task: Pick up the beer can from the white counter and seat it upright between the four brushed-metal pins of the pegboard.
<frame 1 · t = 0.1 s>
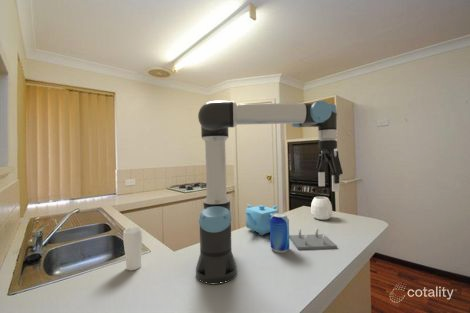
hand: (328, 188, 96), 28 cm above the counter, fingers open, 13 cm apart
teakettle: (261, 231, 123), on the counter
beer can: (279, 249, 99), on the counter
cup: (321, 218, 143), on the counter
white cylinder: (133, 268, 86), on the counter
pegboard: (311, 242, 106), on the counter
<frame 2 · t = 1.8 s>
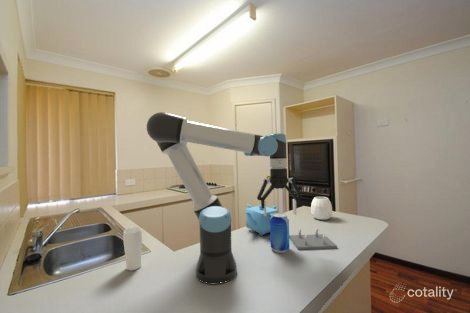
hand: (279, 214, 99), 16 cm above the counter, fingers open, 13 cm apart
nothing on the counter moved.
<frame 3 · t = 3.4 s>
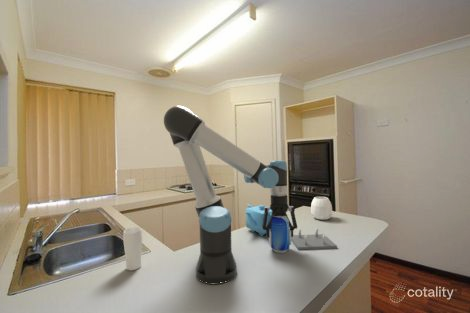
hand: (279, 244, 99), 3 cm above the counter, fingers closed on beer can, 8 cm apart
beer can: (280, 250, 99), on the counter, touching gripper
everything else where it was.
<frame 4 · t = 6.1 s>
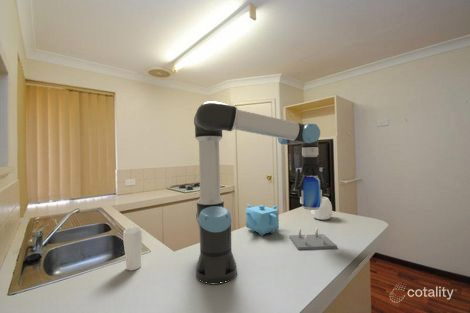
hand: (311, 203, 105), 19 cm above the counter, fingers closed on beer can, 8 cm apart
beer can: (311, 208, 105), point 17 cm above the counter, touching gripper
everything else where it was.
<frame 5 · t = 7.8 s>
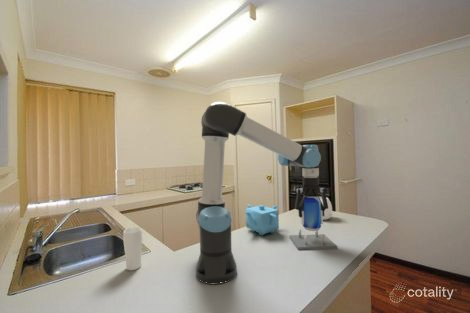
hand: (311, 223, 106), 9 cm above the counter, fingers closed on beer can, 8 cm apart
beer can: (311, 228, 106), point 7 cm above the counter, touching gripper
everything else where it was.
when the fingers open (6 cm above the counter, at t = 9.0 s): beer can drops 2 cm, resting on pegboard.
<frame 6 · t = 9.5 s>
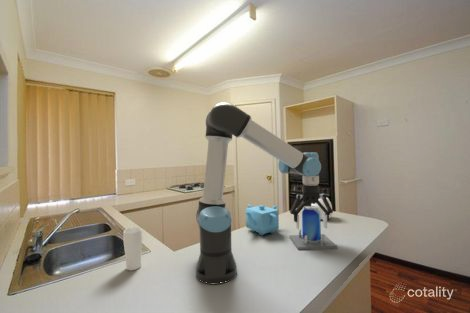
hand: (311, 227, 106), 7 cm above the counter, fingers open, 13 cm apart
beer can: (311, 240, 106), point 1 cm above the counter, touching pegboard
everything else where it was.
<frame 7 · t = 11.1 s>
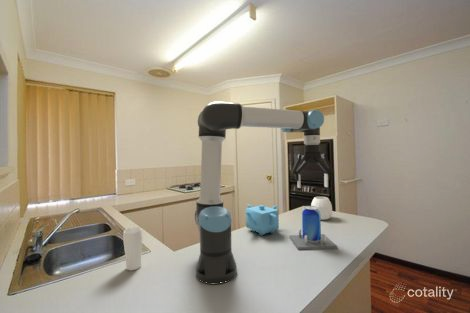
hand: (312, 187, 108), 27 cm above the counter, fingers open, 13 cm apart
nothing on the counter moved.
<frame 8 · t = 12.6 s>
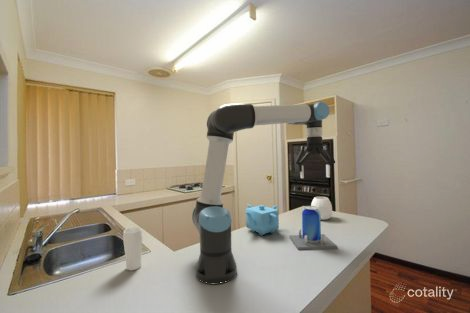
hand: (315, 177, 112), 31 cm above the counter, fingers open, 13 cm apart
nothing on the counter moved.
at the end: beer can 0.0 cm off-centre on the pegboard, point 1.0 cm above the pegboard's base; beer can tilted 0°; the gripper is holding nothing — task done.
